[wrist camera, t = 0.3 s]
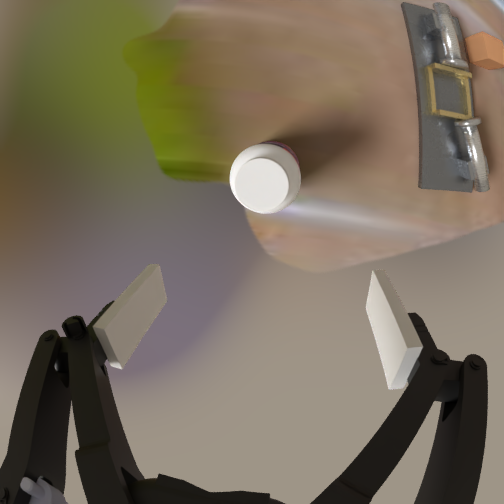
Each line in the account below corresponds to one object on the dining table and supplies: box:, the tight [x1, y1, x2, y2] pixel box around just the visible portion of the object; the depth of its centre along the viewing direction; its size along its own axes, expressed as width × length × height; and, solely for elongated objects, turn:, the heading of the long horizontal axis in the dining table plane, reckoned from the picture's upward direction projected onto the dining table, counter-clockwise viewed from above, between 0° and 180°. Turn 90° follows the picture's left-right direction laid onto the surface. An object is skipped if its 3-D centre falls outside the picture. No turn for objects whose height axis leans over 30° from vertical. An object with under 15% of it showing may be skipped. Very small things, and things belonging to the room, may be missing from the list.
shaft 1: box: [424, 2, 469, 71], centre depth 22 cm, size 11×5×6 cm, turn 5°
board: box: [401, 2, 474, 192], centre depth 28 cm, size 32×11×4 cm, turn 5°
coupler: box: [465, 32, 504, 70], centre depth 22 cm, size 5×5×6 cm
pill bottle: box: [230, 141, 301, 214], centre depth 33 cm, size 8×8×14 cm
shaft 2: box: [454, 117, 490, 192], centre depth 30 cm, size 11×5×6 cm, turn 25°
